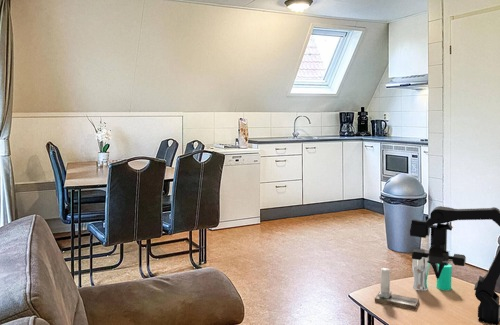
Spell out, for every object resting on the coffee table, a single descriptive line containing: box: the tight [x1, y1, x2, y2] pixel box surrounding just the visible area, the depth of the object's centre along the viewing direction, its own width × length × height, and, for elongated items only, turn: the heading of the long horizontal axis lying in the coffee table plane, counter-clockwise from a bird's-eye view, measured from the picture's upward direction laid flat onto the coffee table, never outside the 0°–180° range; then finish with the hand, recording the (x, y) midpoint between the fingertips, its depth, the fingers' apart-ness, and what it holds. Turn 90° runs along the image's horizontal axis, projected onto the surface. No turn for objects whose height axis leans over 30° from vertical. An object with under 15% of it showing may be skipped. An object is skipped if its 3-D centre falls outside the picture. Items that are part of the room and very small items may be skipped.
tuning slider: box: [378, 267, 392, 299], centre depth 177 cm, size 4×6×11 cm, turn 148°
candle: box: [436, 263, 453, 291], centre depth 189 cm, size 6×6×12 cm
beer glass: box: [411, 257, 430, 292], centre depth 188 cm, size 7×7×15 cm
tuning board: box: [374, 291, 420, 310], centre depth 176 cm, size 16×8×2 cm, turn 58°
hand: (437, 278), depth 166 cm, fingers closed
